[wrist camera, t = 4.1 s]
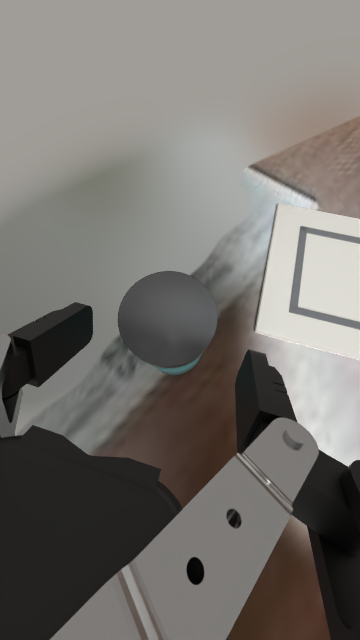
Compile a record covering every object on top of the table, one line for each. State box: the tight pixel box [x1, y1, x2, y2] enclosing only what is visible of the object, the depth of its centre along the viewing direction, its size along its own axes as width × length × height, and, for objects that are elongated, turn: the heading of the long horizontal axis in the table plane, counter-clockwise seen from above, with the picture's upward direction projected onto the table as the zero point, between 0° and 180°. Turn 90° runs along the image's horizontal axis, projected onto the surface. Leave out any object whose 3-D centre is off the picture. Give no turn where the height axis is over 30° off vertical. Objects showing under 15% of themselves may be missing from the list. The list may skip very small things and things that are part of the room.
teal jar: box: [118, 271, 218, 375], centre depth 13 cm, size 5×5×8 cm
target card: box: [254, 204, 360, 360], centre depth 19 cm, size 14×14×1 cm
